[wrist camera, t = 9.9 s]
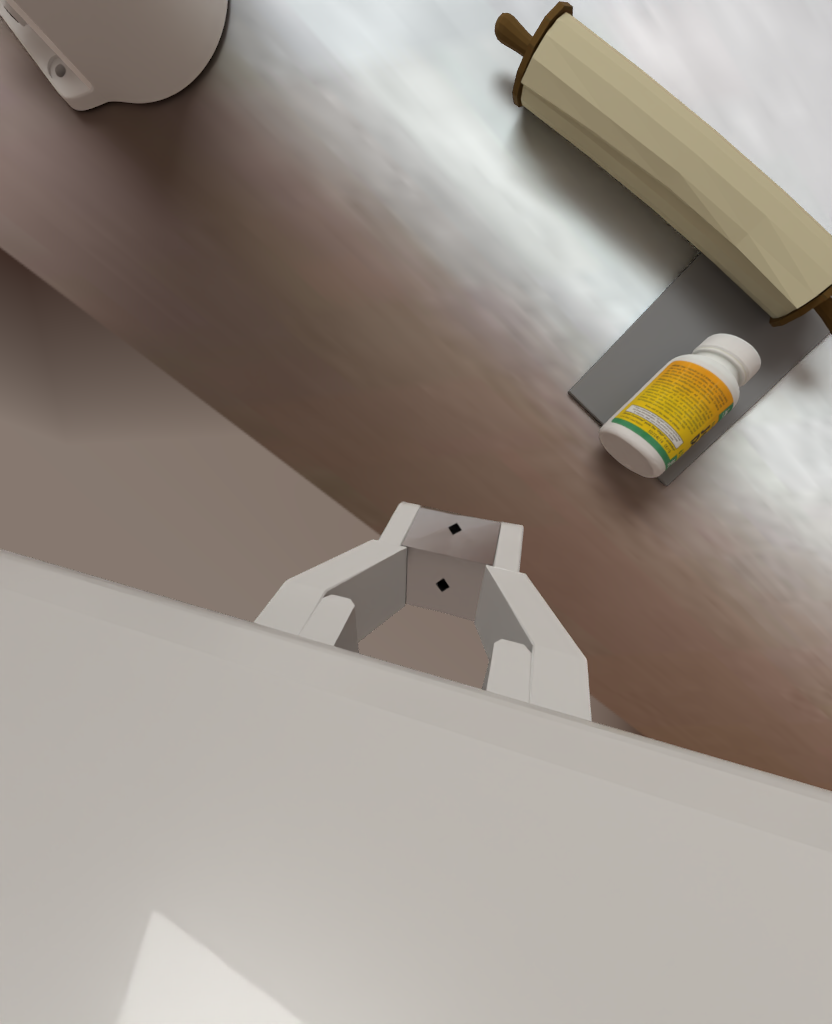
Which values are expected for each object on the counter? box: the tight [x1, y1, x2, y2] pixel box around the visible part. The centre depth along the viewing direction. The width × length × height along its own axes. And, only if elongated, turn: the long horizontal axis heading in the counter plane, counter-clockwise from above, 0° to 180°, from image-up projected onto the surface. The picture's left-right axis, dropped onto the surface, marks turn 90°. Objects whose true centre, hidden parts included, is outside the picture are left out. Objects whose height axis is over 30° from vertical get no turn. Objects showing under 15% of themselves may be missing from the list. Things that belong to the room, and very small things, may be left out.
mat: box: [568, 252, 832, 486], centre depth 29 cm, size 11×18×1 cm, turn 137°
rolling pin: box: [495, 1, 832, 334], centre depth 26 cm, size 32×6×5 cm, turn 49°
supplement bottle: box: [599, 334, 761, 478], centre depth 28 cm, size 5×5×10 cm
